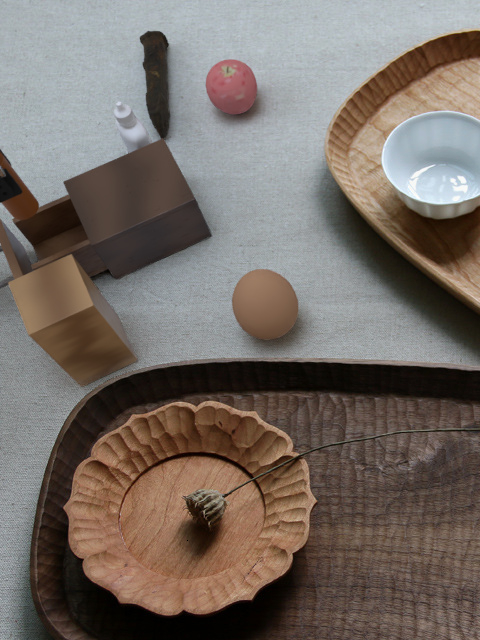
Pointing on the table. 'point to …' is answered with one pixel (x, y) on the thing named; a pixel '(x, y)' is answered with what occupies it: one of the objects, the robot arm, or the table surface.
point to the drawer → (49, 240)
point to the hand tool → (156, 79)
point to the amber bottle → (19, 196)
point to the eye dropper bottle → (130, 128)
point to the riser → (72, 320)
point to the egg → (265, 304)
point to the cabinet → (137, 209)
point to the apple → (231, 86)
